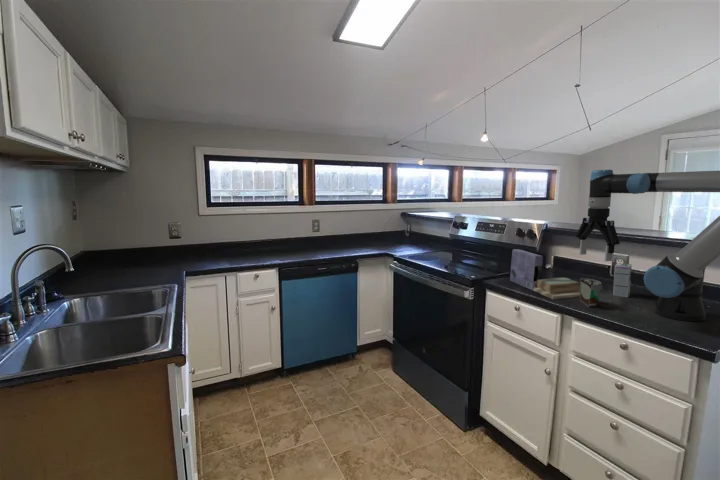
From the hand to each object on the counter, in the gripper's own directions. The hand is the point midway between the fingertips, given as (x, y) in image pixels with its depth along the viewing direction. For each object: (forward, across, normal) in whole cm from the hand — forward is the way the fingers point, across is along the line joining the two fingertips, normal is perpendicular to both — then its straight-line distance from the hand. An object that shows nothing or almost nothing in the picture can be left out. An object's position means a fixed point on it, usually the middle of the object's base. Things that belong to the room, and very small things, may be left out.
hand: (595, 257), depth 150 cm
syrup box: (+21, -7, +21) cm, 30 cm away
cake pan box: (+21, -31, -11) cm, 39 cm away
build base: (+21, -18, -3) cm, 27 cm away
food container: (+21, 0, 0) cm, 21 cm away
